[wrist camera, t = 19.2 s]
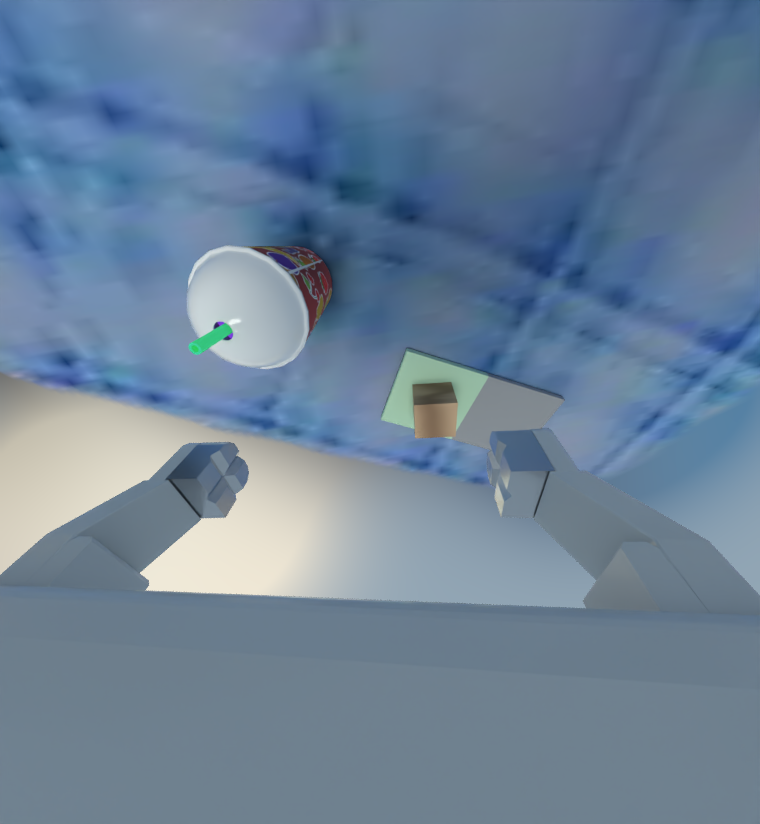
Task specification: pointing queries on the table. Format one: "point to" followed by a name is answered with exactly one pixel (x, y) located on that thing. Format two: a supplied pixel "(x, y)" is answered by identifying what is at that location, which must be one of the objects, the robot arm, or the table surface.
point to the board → (470, 399)
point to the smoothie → (256, 303)
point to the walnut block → (434, 410)
